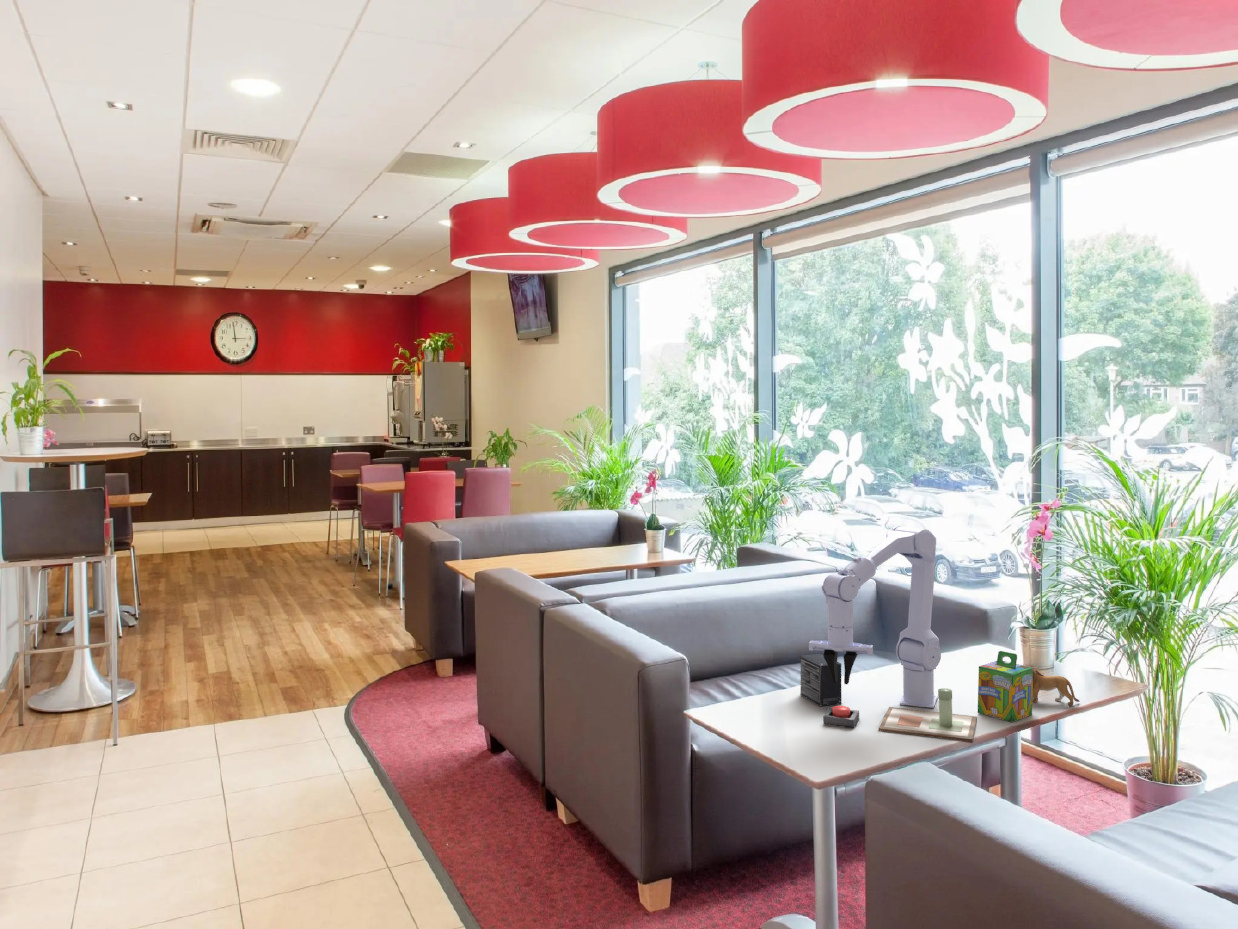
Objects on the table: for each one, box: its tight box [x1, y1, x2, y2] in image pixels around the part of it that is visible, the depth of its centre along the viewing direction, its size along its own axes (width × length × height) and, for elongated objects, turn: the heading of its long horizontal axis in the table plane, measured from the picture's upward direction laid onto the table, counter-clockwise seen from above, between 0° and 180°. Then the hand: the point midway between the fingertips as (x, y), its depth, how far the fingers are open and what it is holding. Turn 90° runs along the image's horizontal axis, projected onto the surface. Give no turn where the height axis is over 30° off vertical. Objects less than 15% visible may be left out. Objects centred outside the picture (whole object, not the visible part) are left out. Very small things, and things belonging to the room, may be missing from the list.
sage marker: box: [937, 687, 953, 727], centre depth 208 cm, size 3×3×8 cm
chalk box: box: [977, 650, 1034, 723], centre depth 216 cm, size 9×9×15 cm
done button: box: [832, 705, 851, 718], centre depth 214 cm, size 4×4×2 cm
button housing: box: [822, 707, 860, 729], centre depth 214 cm, size 7×7×2 cm
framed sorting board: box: [878, 706, 977, 743], centre depth 211 cm, size 16×20×1 cm
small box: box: [799, 653, 842, 707], centre depth 231 cm, size 11×6×10 cm, turn 18°
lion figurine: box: [1022, 664, 1080, 707], centre depth 225 cm, size 15×5×9 cm, turn 76°
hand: (840, 682), depth 214 cm, fingers open, 2 cm apart
